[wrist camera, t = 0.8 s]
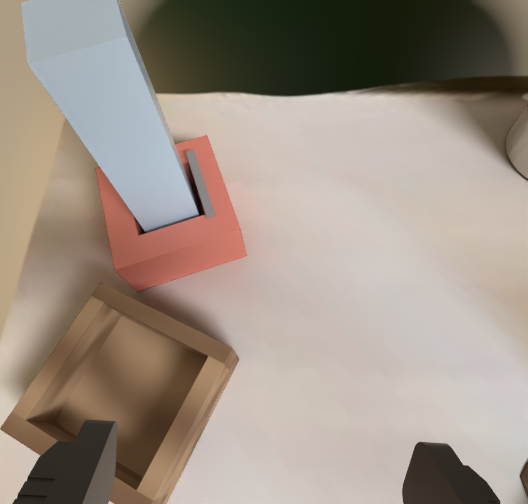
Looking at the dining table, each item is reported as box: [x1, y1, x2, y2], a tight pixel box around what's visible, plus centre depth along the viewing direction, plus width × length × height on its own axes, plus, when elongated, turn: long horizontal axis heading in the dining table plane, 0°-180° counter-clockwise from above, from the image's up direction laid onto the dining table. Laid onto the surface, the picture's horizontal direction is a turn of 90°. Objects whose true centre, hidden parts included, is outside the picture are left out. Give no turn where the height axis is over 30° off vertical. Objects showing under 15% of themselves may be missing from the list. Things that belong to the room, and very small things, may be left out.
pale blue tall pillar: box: [21, 0, 201, 233], centre depth 28 cm, size 4×4×20 cm
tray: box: [0, 283, 239, 504], centre depth 29 cm, size 11×11×4 cm
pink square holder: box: [95, 135, 247, 292], centre depth 35 cm, size 10×10×6 cm
